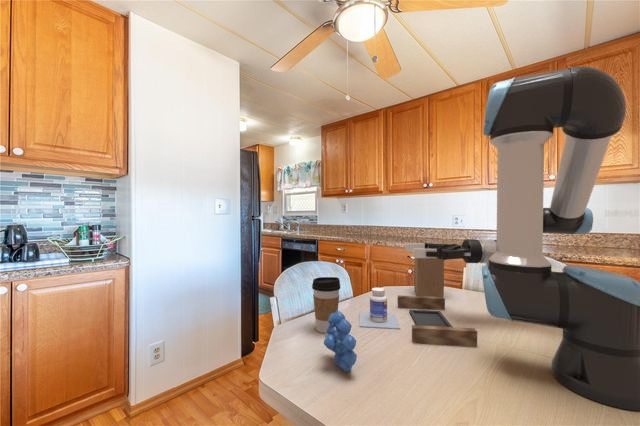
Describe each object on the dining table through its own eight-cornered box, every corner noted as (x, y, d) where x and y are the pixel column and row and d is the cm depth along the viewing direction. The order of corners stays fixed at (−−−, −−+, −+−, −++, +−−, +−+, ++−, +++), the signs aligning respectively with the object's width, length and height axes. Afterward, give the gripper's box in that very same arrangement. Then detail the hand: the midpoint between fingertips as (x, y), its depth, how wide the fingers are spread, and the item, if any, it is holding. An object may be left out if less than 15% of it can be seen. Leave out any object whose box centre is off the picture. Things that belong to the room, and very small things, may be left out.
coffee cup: (336, 337, 80) (336, 283, 79) (307, 332, 82) (307, 280, 82) (343, 325, 88) (343, 276, 87) (317, 321, 90) (317, 274, 90)
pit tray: (439, 314, 97) (439, 310, 97) (456, 335, 81) (456, 330, 81) (409, 313, 98) (409, 309, 98) (419, 333, 82) (419, 329, 82)
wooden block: (443, 300, 112) (444, 249, 112) (417, 298, 114) (417, 248, 114) (438, 292, 122) (439, 245, 122) (414, 291, 124) (414, 245, 124)
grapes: (313, 357, 69) (313, 307, 69) (339, 351, 71) (339, 303, 71) (334, 384, 58) (334, 325, 58) (363, 377, 61) (363, 320, 61)
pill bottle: (387, 323, 89) (387, 291, 88) (369, 322, 89) (370, 291, 89) (386, 316, 94) (386, 287, 94) (369, 315, 95) (369, 286, 95)
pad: (394, 314, 97) (394, 313, 97) (400, 329, 85) (400, 328, 85) (359, 312, 98) (359, 311, 98) (359, 327, 86) (359, 326, 86)
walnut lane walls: (443, 308, 103) (443, 297, 103) (477, 346, 74) (477, 331, 74) (397, 306, 105) (397, 295, 105) (413, 343, 76) (413, 328, 76)
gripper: (498, 271, 78) (418, 269, 80) (462, 256, 103) (401, 255, 105) (499, 244, 78) (418, 242, 80) (462, 235, 103) (402, 235, 105)
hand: (408, 250), depth 92 cm, fingers open, 13 cm apart
